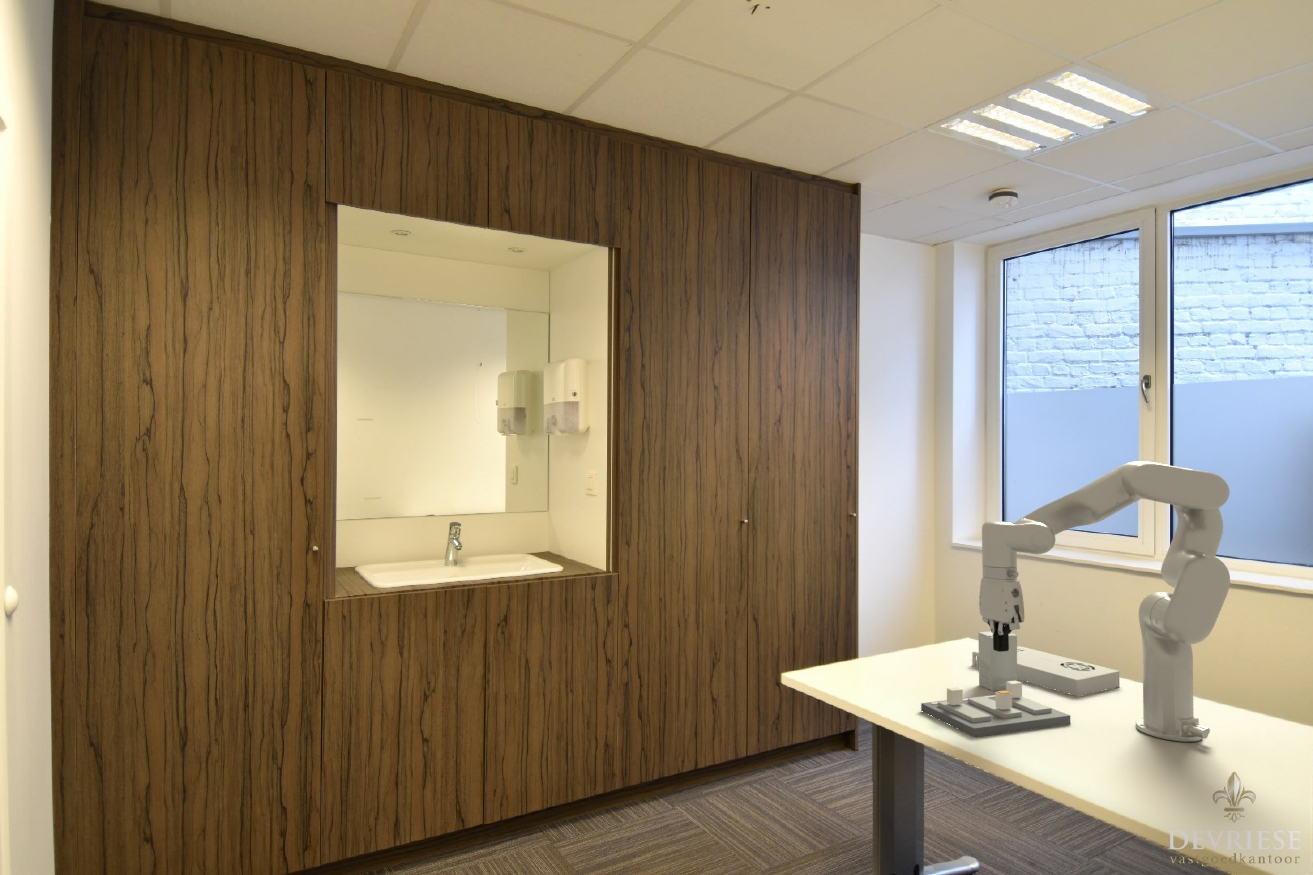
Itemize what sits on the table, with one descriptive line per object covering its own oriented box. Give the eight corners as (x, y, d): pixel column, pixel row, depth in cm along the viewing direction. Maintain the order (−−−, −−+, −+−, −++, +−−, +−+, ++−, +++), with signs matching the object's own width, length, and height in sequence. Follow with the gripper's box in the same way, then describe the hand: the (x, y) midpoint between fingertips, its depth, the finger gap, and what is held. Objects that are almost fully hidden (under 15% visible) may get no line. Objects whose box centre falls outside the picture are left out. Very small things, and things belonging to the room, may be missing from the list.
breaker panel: (1070, 723, 176) (1070, 711, 176) (973, 737, 167) (973, 723, 167) (1011, 700, 193) (1011, 688, 193) (921, 711, 184) (921, 699, 184)
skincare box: (1004, 683, 208) (1003, 629, 208) (1018, 689, 202) (1018, 634, 203) (977, 684, 206) (977, 630, 207) (991, 691, 200) (991, 635, 201)
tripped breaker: (1012, 708, 177) (1011, 692, 177) (1001, 709, 176) (1001, 693, 176) (1005, 705, 179) (1005, 689, 179) (995, 706, 178) (995, 691, 178)
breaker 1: (962, 704, 180) (962, 689, 180) (952, 705, 179) (952, 690, 179) (956, 701, 182) (956, 686, 182) (946, 702, 181) (946, 688, 181)
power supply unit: (1013, 660, 234) (1013, 644, 235) (1120, 689, 205) (1120, 670, 205) (972, 667, 226) (972, 651, 226) (1077, 699, 196) (1077, 680, 197)
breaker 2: (1022, 696, 185) (1021, 682, 186) (1012, 698, 184) (1012, 683, 185) (1015, 694, 187) (1015, 680, 187) (1006, 695, 186) (1006, 681, 186)
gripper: (1036, 577, 173) (1038, 656, 173) (989, 568, 187) (990, 642, 187) (1011, 578, 171) (1012, 659, 170) (964, 569, 185) (965, 644, 184)
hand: (1001, 650), depth 179 cm, fingers closed
